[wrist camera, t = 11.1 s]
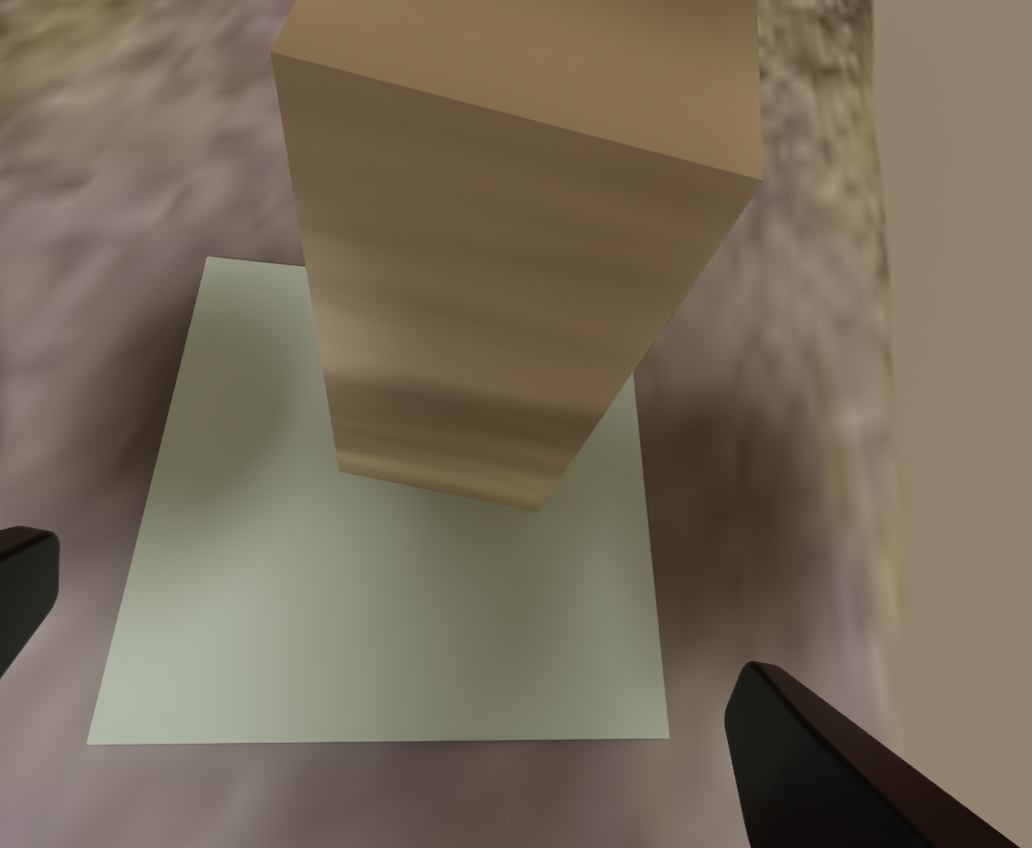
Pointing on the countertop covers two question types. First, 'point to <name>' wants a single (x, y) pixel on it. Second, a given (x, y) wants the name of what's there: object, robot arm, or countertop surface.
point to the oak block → (505, 215)
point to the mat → (366, 569)
